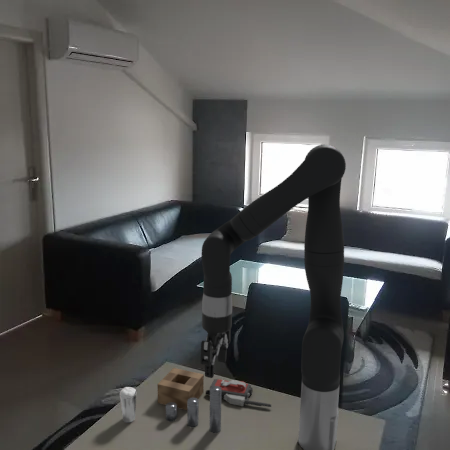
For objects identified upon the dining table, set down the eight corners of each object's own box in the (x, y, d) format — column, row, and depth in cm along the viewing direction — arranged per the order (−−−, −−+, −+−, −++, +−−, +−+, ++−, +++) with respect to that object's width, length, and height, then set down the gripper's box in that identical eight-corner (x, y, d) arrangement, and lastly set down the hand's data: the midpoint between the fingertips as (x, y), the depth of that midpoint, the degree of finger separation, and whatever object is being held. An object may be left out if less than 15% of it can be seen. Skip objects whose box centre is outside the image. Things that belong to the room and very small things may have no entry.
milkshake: (131, 427, 129) (130, 393, 127) (116, 420, 132) (115, 387, 130) (143, 418, 133) (142, 385, 131) (128, 412, 136) (127, 380, 134)
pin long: (222, 427, 130) (223, 387, 127) (218, 434, 127) (218, 393, 125) (212, 425, 131) (212, 384, 128) (207, 431, 128) (208, 390, 126)
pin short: (178, 416, 135) (178, 403, 134) (173, 422, 132) (173, 409, 131) (169, 414, 136) (168, 401, 135) (163, 420, 133) (163, 407, 132)
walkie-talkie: (203, 401, 143) (270, 412, 138) (203, 387, 142) (271, 398, 137) (211, 385, 151) (275, 395, 146) (211, 372, 150) (276, 382, 145)
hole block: (203, 392, 146) (203, 374, 145) (189, 410, 137) (189, 391, 136) (173, 385, 150) (173, 367, 149) (157, 402, 141) (157, 384, 139)
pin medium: (200, 422, 132) (200, 399, 131) (195, 428, 130) (195, 404, 128) (190, 419, 133) (190, 396, 132) (185, 425, 131) (185, 402, 129)
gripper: (220, 323, 114) (218, 386, 118) (240, 302, 127) (238, 359, 131) (191, 318, 117) (190, 379, 120) (214, 298, 130) (213, 354, 133)
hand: (215, 368), depth 125 cm, fingers open, 8 cm apart
